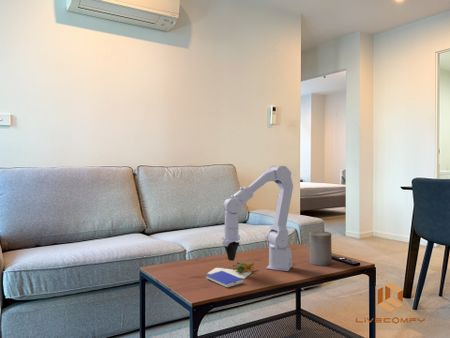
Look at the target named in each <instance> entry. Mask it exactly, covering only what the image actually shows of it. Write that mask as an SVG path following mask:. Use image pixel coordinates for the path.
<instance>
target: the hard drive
mask: <svg viewBox="0 0 450 338" xmlns="http://www.w3.org/2000/svg"><path fill="white" fill-rule="evenodd" d="M205 278H206V279H207V280H210V281H212V282H213V283H216V284H219V285H220V286H222V287H225V288H229V287H233V286H237V285H240V284H242V283H244V279H242V278H239V277H236V276H234V275H232V274H229V273H227V272H224V271H219V272H215V273H212V274H206V277H205Z"/></svg>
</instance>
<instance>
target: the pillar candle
mask: <svg viewBox="0 0 450 338" xmlns="http://www.w3.org/2000/svg"><path fill="white" fill-rule="evenodd" d="M308 234H309V264H311V265H315V266H319V267H323V266H325V267H326V266H327V267H328V266H330V265H332V255H333V254H332V253H333V252H332V233H331V232H329V231H323V230H319V231H318V230H317V231H309V233H308Z"/></svg>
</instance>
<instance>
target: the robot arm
mask: <svg viewBox="0 0 450 338" xmlns="http://www.w3.org/2000/svg"><path fill="white" fill-rule="evenodd" d="M268 182H274V183H275V184H276V185H277V186H278V188H279V191H278V193H279V194H278V198H277V203H276V209H275V214H274V220H273V224H272V225H271V226H270V228H269V231H268V232H267V234H266V240H267V242H268V243H269V245H268V246H269V247H268V248H269V249H268V257H269V258H268V266H266V268H265V269H267V270H276V271H283V272H284V271H285V272H289V271H290V269H291V268H292V267H293V265H292V264H293V263H292V262H293V261H292V260H293V259H292V248H290V247H288V245H289V242H290V239H289V230H288V228H287V223H288V218H289V211H290V206H291V202H292V201H291V200H292V195H293V191H294V190H293V188H294V184H293V180H292V171H291V170H290V169H289V168H288V166H285V165H272V166H269V168H267V169H266V170H264V172H263V173H262V174H261V175H259V176H258V177H257V178H256V179H255V180H254V181H252V183H250V184H249V185H248V186H241V187H239V188H238V189H239V190H238V191H236V192H235V193H233V194H232V195H230V197H229V198H227V199H225V200H224V202H223V204H222V209H223V211H224V236H222V238H221V239H222V240H223V241H222V247H224V249H225V251H226V255H227V259H228V261H230V262H231V261H232V262H234V261H235V259H236V254H237V251H238V247H239V246H240V242H239V241H240V240H241V237H240V236H241V235H239V212H240V211H241V208H242V207H243V206H244V205H245V204H246V203H248V201H250V200H251V199H252V198H253V196H254V193H255V192H257V190H259V189H260V188H261V187H263V186H264V185H265V184H267V183H268Z"/></svg>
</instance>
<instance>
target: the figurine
mask: <svg viewBox="0 0 450 338" xmlns="http://www.w3.org/2000/svg"><path fill="white" fill-rule="evenodd" d="M254 265H255V263H253V262H252V263H248V264H247V263H245V262H236V264H233V265H232V267H234V268H232V270H237V271H236V272H240V273H241V272H242V273H243V272H244V271H249V272H251V271H254V270H255V269H254V267H253V266H254Z"/></svg>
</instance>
